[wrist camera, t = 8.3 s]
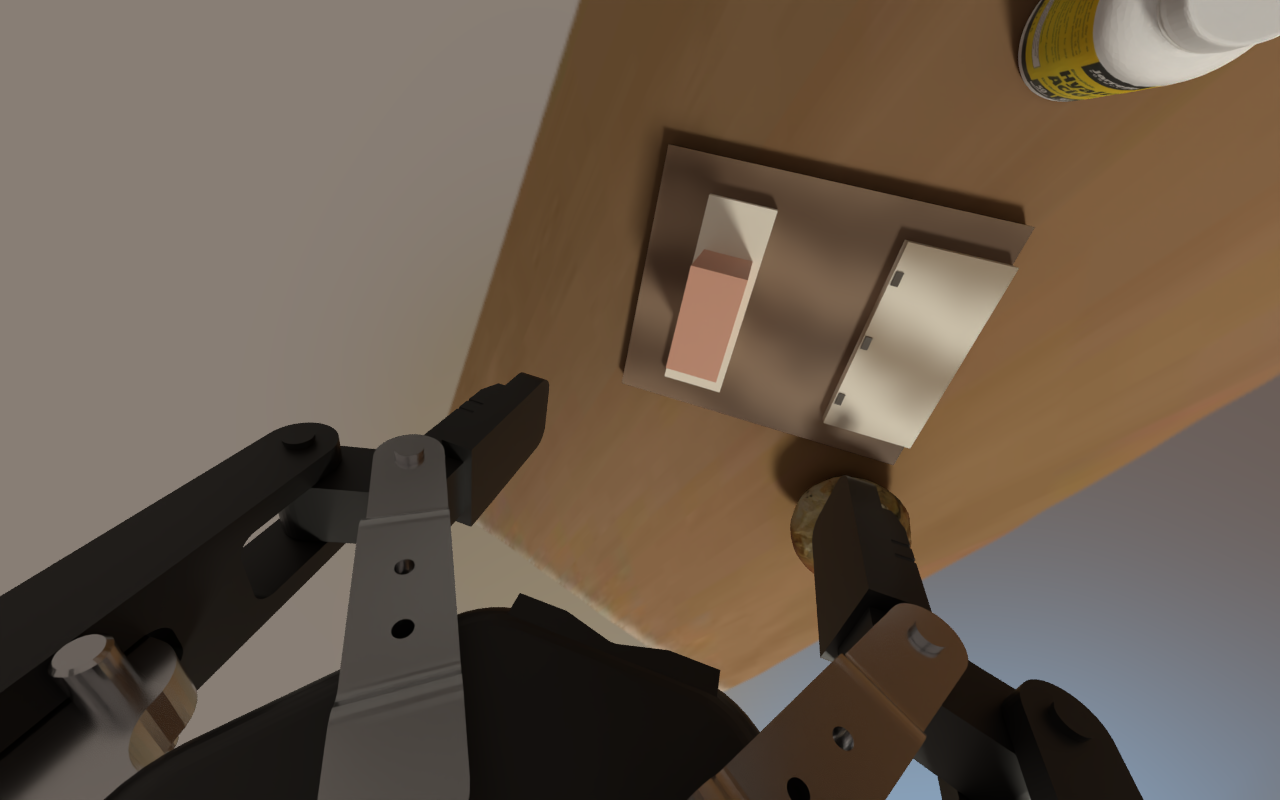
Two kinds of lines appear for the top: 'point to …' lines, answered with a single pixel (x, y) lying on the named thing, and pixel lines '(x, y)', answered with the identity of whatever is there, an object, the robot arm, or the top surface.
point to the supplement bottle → (1135, 43)
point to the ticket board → (827, 302)
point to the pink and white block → (718, 289)
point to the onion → (814, 504)
